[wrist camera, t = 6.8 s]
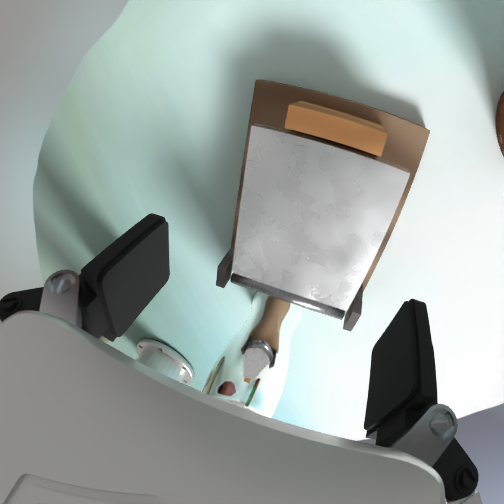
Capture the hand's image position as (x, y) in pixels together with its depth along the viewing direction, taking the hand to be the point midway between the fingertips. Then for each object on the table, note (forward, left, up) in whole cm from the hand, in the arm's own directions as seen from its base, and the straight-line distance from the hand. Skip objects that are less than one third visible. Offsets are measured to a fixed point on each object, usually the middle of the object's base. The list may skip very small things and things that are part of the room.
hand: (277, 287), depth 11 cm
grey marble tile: (-4, 0, -12) cm, 13 cm away
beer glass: (-18, +1, -17) cm, 24 cm away
